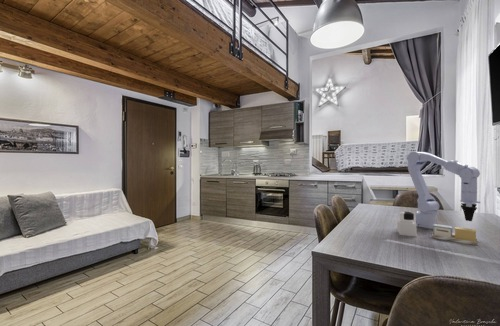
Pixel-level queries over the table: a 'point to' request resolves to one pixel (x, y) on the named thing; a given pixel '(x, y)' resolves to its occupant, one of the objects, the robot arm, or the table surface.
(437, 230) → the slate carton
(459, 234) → the ochre carton
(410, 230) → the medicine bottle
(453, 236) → the beige divided tray
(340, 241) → the table surface
